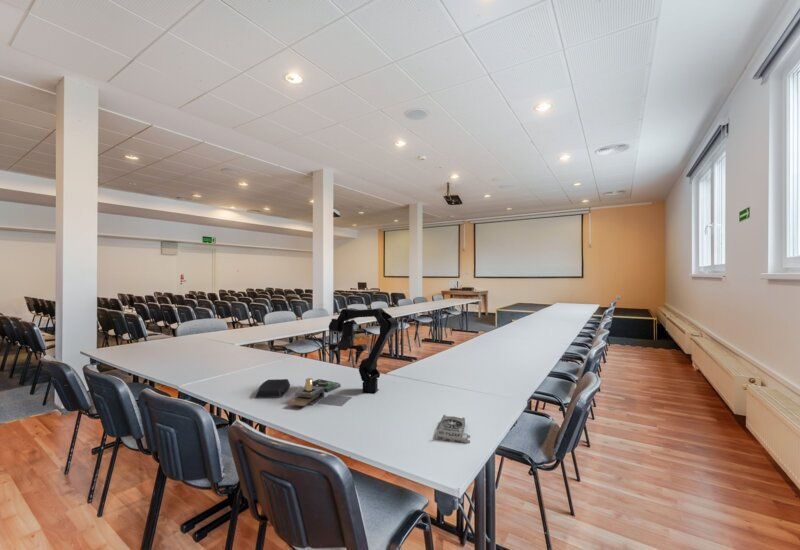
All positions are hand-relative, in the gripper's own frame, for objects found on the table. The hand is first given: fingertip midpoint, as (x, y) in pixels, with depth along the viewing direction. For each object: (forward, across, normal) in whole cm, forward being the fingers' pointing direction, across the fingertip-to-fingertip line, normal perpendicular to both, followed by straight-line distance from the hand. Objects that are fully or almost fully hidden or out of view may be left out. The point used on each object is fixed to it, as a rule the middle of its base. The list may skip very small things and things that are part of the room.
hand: (347, 363), depth 175 cm
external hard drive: (+12, -33, -14) cm, 38 cm away
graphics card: (+13, +56, -38) cm, 69 cm away
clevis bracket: (+12, -10, -25) cm, 29 cm away
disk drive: (+13, -12, -4) cm, 18 cm away
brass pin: (+12, -10, -23) cm, 27 cm away
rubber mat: (+12, +2, -19) cm, 23 cm away
